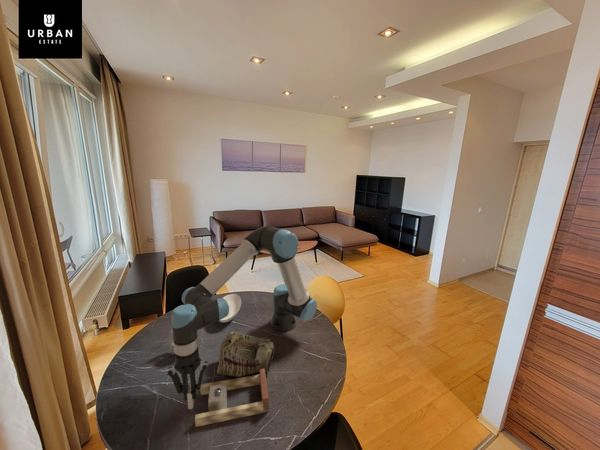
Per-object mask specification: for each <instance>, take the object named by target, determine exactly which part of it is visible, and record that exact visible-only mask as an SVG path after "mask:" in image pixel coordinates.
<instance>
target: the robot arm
mask: <svg viewBox="0 0 600 450" xmlns="http://www.w3.org/2000/svg"><path fill="white" fill-rule="evenodd" d="M298 247H299V239H298V237H297V235H296V234H295V233H294V232H292V231H289V230H287V229H282V228H278V227H274V226H270V225H263V226H261V227H258V228H256V229H255V230H253V231H252V232H249V234H247V236H245V237H244V238H243V239H242V240H241V244H240V245H238V247H237V248H235V249H234V250H233V251H232V252H231V253H230V255H228V256H227V257H226V258H224V260H223V261H222V262H221V263H220V264H219V265H218V266H217V267H216V268H214V269H213V270H212V271H211V272H210V273H209V274H208V275H207V276H206V277H205V278H204V279H203V280H202V281H201V282H199V284H198V285H196V286H195V287H194V286H191V287H188V288H187V289H185V290H184V291H183V292H182V294H181V301H182V303H183V304H181V305H179V306H176V307H175V308H174V309H173V310H172V312H171V313H170V314H171V318H170V319H171V320H170V321H171V322H170V323H171V324H170V325H171V330H172V332H173V343H174V350H173V352H174V362H175V363H174V365H173V366H169V369H168V370H167V375H168V376H169V377H170V379H171V380H172V383H173V386H174V387H175V389H176V392H177V393H178V394H181V393H183V400H184V402H185V401H187V409H188V410H193V408H194V404H195V399H196V397H197V391H200V387H201V385H202V382H203V378H204V373H205V371H206V370H207V367H208V361H206V360H205V361H202V359H201V358H200V354H199V339H198V331H200V330H202V329H204V328H205V327H208V326H210V325H212V324H215V323H217V322H219V321H220V320H221V319H223V318H225V317H227V316H228V314H229V305H228V303H227V301H226V300H225V299H224V298H223V297H220V298H216V299H213V298H212V297H214V295H215V294H216V293H218V292H219V291H220V289H222V288H223V287H224V286H225V284H226V283H228V282H229V280H231V279H232V277H234V275H236V273H237V272H238V271H239V270H240V269H241V268H243V266H244V265H245V264H246V263H247V262H248V261H249V260H250V259H251V258H252V257H253V256H257V255H258V254H259V253H261V252H263V251H264V252H267V253H269V254H270V257H271V260H272V261H273V262H274V263H275V264H277V266H278V269H279V272H280V274H281V277H282V279H283V282H284V283H283V284H279V285H276V286H275V287H274V289H273V294H272V296H273V312H272V315H271V318H270V322H269V323H270V327H271V328H272V329H274V330H275V331H279V332H287V331H291V330H293V329H294V328H295V327H297V318H299V319H300V320H302V321H305V322H306V321H309V320H311V319H312V318H313V317H314V315H315V313H316V311H317V307H318V302H317V300H316V299H315V298H313V297H311V294H310V292H309V291H308V289H306V288H305V285H304V282H303V279H302V276H301V273H300V270H299V268H298V264H297V261H296V258H295V257H296V256H297V253H298V250H299V248H298ZM198 368H199V370H200V371H199V375H198V381H196V370H197V369H198ZM178 373H179V374H181V375H180V376H181V379H180V376H179V374H178ZM188 375H189V376H188ZM188 377H189V379H190V387H189V379H188ZM196 382H197V383H196Z"/></svg>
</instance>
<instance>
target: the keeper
mask: <svg viewBox="0 0 600 450" xmlns="http://www.w3.org/2000/svg"><path fill="white" fill-rule="evenodd" d="M207 401H208V403H207V405H208V412H211V411H216V410H221V409H226V408H228V407H227V405H228V390H227V383H226V384H220V385H214V386H210V393H209V394H208V400H207Z"/></svg>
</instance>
